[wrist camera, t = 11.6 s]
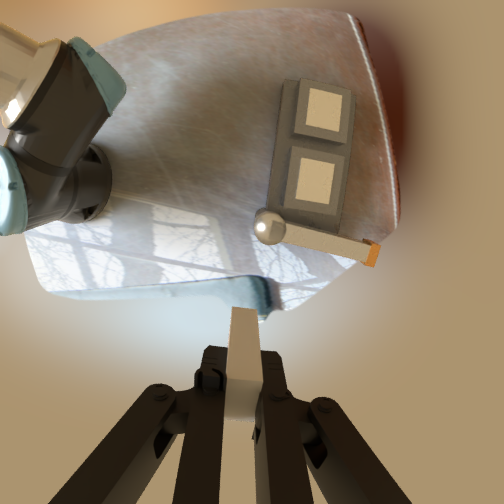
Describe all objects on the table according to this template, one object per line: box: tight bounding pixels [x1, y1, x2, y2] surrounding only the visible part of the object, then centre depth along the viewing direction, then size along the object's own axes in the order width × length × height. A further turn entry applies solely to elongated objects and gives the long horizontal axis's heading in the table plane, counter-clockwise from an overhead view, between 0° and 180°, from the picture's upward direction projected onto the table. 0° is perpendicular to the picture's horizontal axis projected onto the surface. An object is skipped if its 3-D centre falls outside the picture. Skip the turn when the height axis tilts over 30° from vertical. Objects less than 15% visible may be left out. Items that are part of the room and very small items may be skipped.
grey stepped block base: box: [255, 78, 356, 234], centre depth 39 cm, size 14×26×8 cm, turn 172°
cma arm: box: [254, 211, 381, 267], centre depth 36 cm, size 18×4×3 cm, turn 76°
